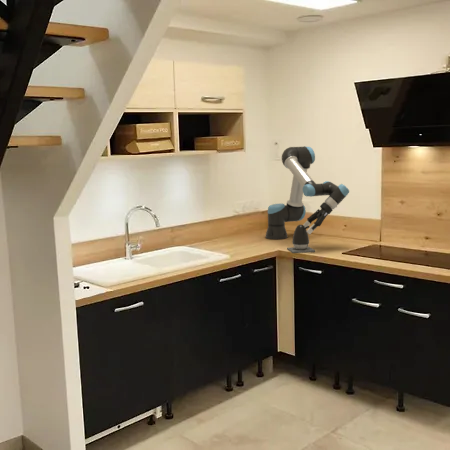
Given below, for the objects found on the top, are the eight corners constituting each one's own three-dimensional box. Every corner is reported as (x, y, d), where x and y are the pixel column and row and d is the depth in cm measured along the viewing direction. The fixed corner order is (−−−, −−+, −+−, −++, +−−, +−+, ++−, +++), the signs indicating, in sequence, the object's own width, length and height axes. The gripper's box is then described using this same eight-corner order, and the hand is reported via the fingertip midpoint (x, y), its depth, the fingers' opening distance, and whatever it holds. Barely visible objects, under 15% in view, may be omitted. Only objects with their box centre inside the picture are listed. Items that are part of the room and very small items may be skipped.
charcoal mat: (287, 249, 361) (287, 247, 361) (308, 248, 363) (308, 246, 363) (292, 253, 348) (292, 251, 348) (315, 252, 351) (315, 250, 350)
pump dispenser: (309, 250, 350) (309, 225, 348) (291, 250, 352) (291, 225, 350) (310, 247, 360) (310, 223, 357) (293, 247, 362) (293, 223, 359)
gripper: (339, 212, 342) (315, 238, 342) (326, 207, 367) (303, 232, 367) (331, 204, 341) (306, 230, 341) (318, 199, 365) (295, 224, 365)
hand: (304, 231), depth 354 cm, fingers open, 13 cm apart
